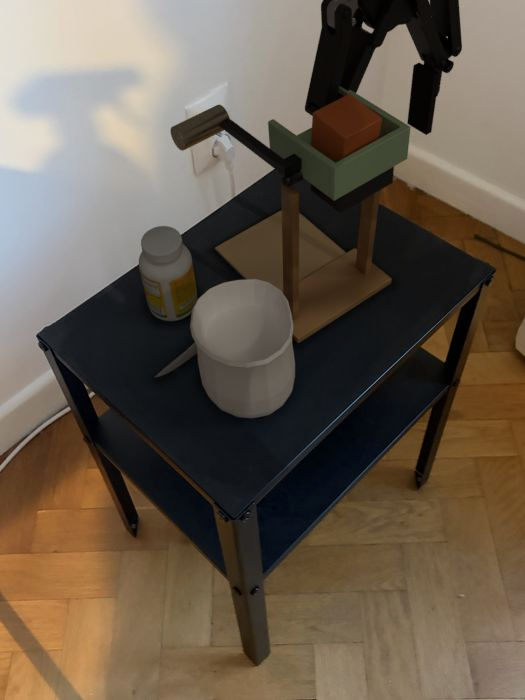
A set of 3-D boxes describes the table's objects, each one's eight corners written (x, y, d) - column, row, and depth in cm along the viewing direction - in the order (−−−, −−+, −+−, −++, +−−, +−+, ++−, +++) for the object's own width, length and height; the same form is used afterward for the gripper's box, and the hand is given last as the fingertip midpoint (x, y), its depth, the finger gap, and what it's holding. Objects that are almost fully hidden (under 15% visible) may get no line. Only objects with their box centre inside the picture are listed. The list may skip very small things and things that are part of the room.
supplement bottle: (147, 324, 77) (130, 261, 69) (150, 285, 80) (134, 222, 72) (198, 321, 77) (187, 258, 69) (199, 283, 80) (188, 219, 72)
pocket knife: (255, 308, 78) (254, 296, 76) (261, 313, 77) (260, 301, 76) (152, 380, 73) (149, 369, 71) (158, 385, 72) (154, 374, 71)
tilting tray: (176, 166, 67) (166, 115, 63) (309, 99, 72) (308, 48, 68) (278, 254, 59) (274, 202, 55) (419, 171, 64) (426, 118, 60)
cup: (253, 324, 76) (248, 260, 68) (319, 383, 72) (322, 321, 64) (181, 375, 73) (167, 314, 65) (245, 440, 68) (239, 383, 60)
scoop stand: (262, 308, 78) (255, 179, 63) (354, 252, 82) (366, 119, 68) (298, 343, 75) (298, 216, 60) (391, 283, 79) (412, 151, 65)
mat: (346, 255, 82) (346, 253, 81) (268, 303, 78) (268, 300, 78) (290, 207, 87) (290, 204, 86) (214, 250, 83) (214, 247, 83)
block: (310, 151, 62) (312, 112, 59) (345, 131, 64) (349, 93, 60) (340, 176, 60) (344, 138, 57) (376, 156, 62) (382, 118, 58)
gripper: (465, -146, 62) (433, 91, 79) (252, -65, 54) (268, 178, 71) (536, -124, 58) (486, 121, 75) (317, -34, 50) (317, 216, 67)
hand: (380, 149), depth 73 cm, fingers open, 10 cm apart
